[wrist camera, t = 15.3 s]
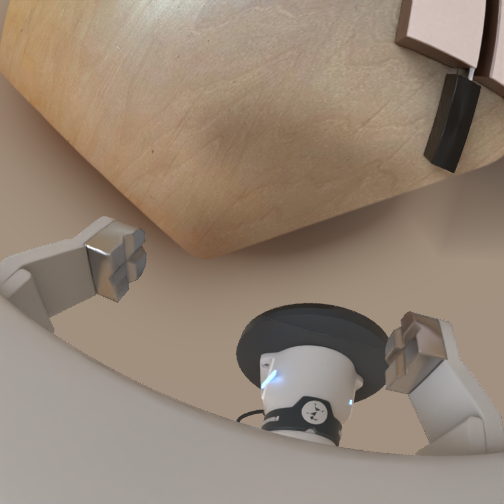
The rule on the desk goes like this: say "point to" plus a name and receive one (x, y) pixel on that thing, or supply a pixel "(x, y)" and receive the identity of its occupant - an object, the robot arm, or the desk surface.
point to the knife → (453, 119)
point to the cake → (457, 35)
